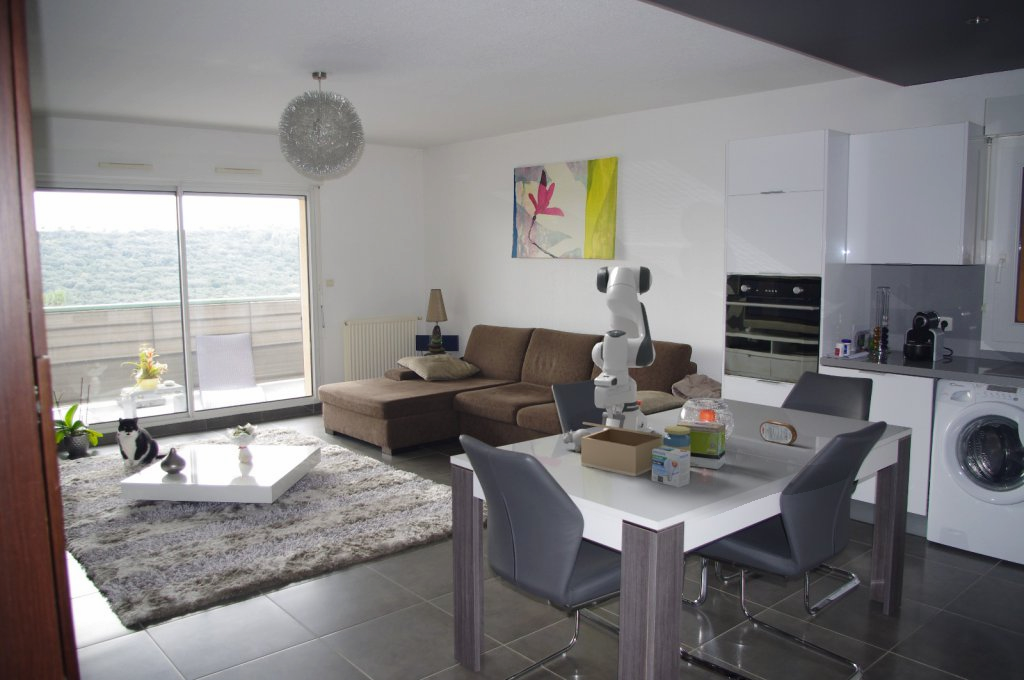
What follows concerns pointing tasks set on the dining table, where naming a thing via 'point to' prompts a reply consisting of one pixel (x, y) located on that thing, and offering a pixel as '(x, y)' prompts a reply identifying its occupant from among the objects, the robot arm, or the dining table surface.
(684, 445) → the jar
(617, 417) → the carton flap
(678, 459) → the light bulb box
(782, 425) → the tin
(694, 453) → the tea box
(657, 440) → the carton
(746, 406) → the dining table surface
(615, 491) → the dining table surface
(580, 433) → the toy rhinoceros
